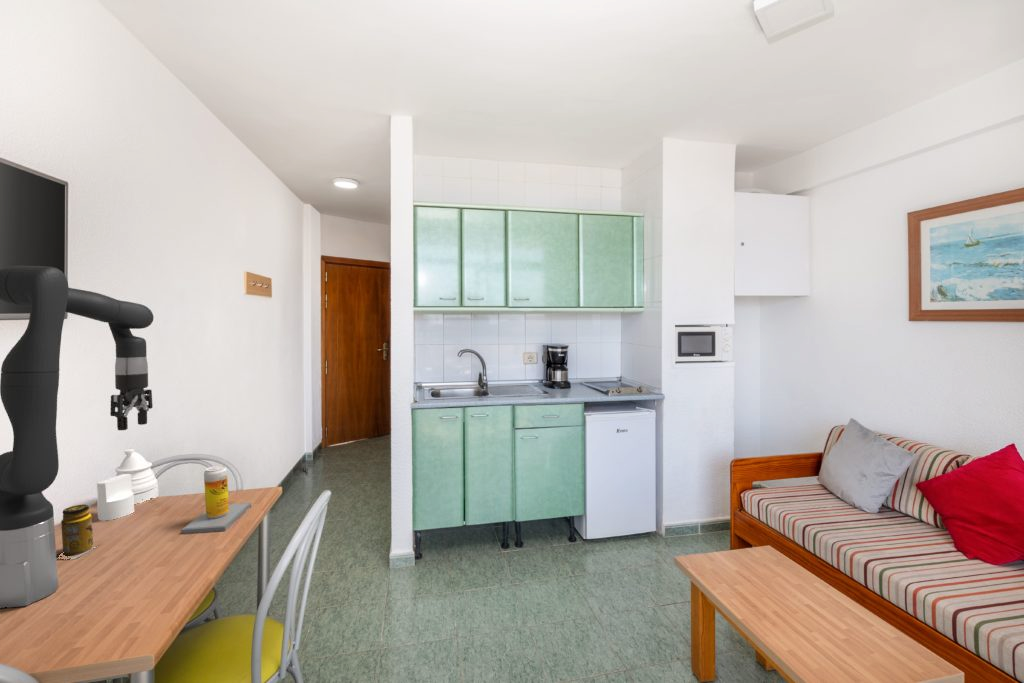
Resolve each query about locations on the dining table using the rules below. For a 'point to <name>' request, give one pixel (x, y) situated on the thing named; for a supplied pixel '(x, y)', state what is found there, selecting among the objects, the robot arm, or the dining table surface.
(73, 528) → the condiment
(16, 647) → the dining table surface
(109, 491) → the base with upright slab
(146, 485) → the honey pot
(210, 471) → the beer can
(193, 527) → the grey flat slab
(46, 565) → the robot arm
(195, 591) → the dining table surface
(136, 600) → the dining table surface
